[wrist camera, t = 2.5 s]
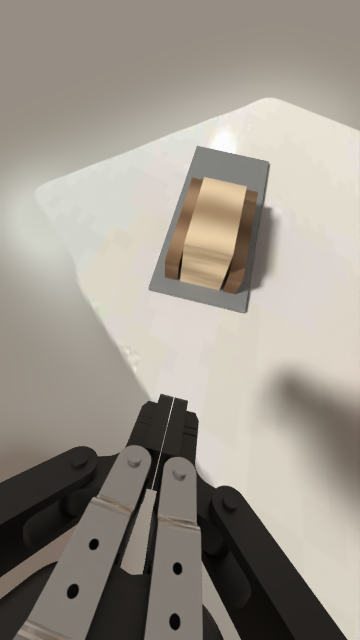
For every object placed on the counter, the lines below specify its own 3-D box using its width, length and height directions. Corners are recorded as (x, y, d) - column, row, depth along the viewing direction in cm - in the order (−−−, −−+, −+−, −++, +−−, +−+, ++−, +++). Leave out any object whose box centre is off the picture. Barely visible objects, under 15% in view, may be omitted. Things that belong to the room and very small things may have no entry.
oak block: (197, 222, 36) (204, 176, 30) (232, 230, 36) (246, 186, 30) (180, 281, 32) (184, 243, 26) (219, 290, 32) (233, 255, 26)
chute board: (196, 148, 43) (197, 145, 43) (267, 164, 43) (268, 161, 42) (148, 290, 32) (148, 288, 32) (243, 313, 32) (245, 311, 31)
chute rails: (189, 198, 38) (192, 177, 35) (250, 212, 38) (258, 192, 35) (164, 277, 33) (164, 260, 29) (235, 294, 32) (243, 279, 29)
